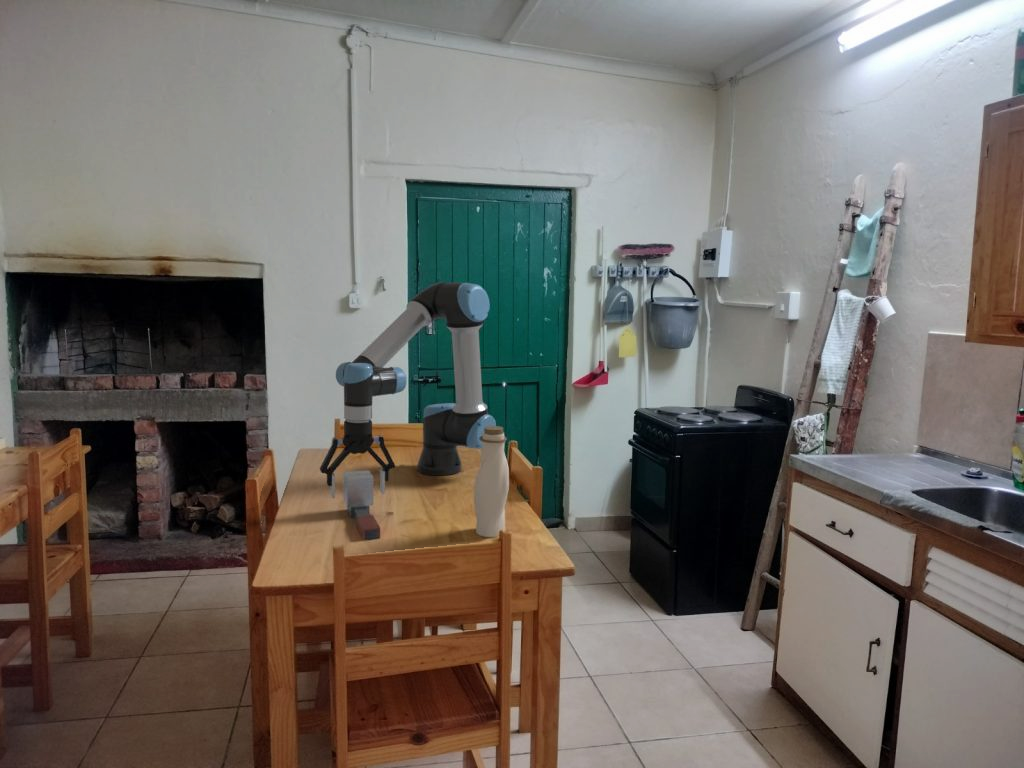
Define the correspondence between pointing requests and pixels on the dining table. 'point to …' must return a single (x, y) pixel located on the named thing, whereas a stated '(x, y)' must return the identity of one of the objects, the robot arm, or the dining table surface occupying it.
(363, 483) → the grey stone cube
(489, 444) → the water bottle
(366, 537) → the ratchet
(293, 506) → the dining table surface
